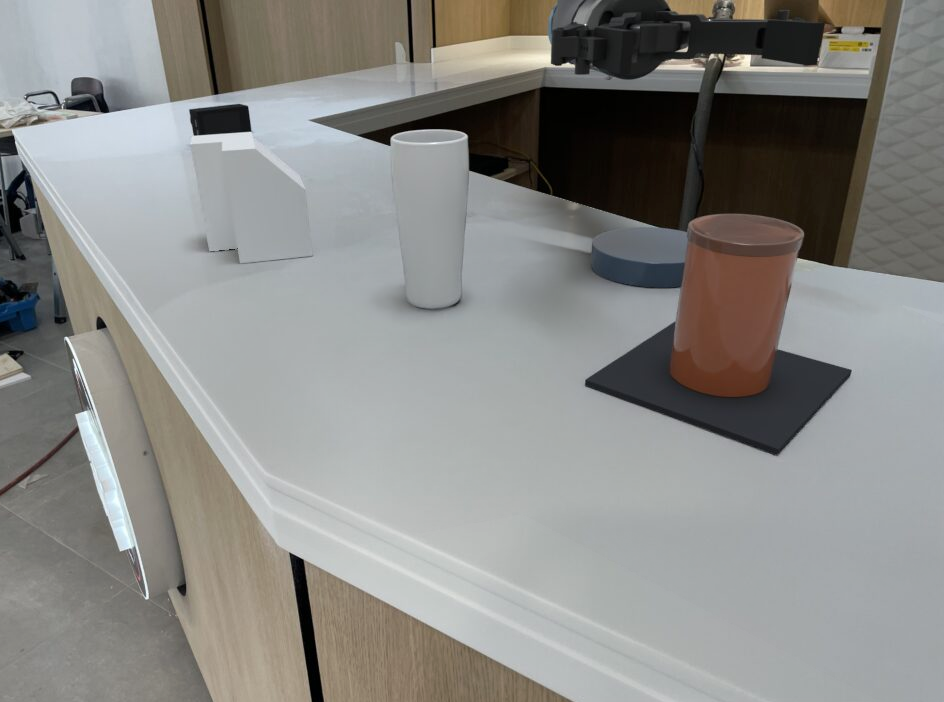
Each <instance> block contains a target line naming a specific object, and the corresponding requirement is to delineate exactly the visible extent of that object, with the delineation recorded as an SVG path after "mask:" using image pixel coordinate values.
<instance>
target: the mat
mask: <svg viewBox="0 0 944 702" xmlns="http://www.w3.org/2000/svg"><path fill="white" fill-rule="evenodd" d="M675 323H676V320H675V321H673V322H672V323H670V324H669V325H667V326H666V327H664V328H663V329H661V330H659V331H658V332H657V333H655V334H653V335H652V336H650V337H649V338H648V339H646V340H644V341H642V342H641V343H639V344H637V345H636V346H635V347H633V348H632V349H630V350H629V351H627V352H626V353H624V354H622V355H620V356H619V357H617V358H616V359H614V360H613V361H612V362H610V363H609V364H607V365H606V366H604V367H602V368H600V370H598V371H597V372H594V373H593V374H591V375H590V376H589V377H587V378H586V379H585V380H584V385H585V387H589V388H592V389H594V390H597V391H600V392H602V393H605V394H608V395H611V396H612V397H613V396H614V397H616V398H619V399H622V400H624V401H627V402H630V403H632V404H635V405H638V406H641V407H643V408H647V409H649V410H652V411H655V412H657V413H660V414H663V415H665V416H668V417H670V418H674V419H676V420H679V421H681V422H684V423H688V424H690V425H693V426H696V427H698V428H701V429H704V430H707V431H709V432H711V433H715V434H717V435H720V436H723V437H726V438H729V439H731V440H733V441H736V442H739V443H742V444H744V445H747V446H750V447H753V448H755V449H758V450H761V451H763V452H767V453H769V454H771V455H774V456H778V455H779V454H780V453H781V452H782V451H783V450H784V449H785V448H786V446H787V445H788V444H790V442H791V441H792V440H793V439H794V438H795V437H796V436H797V434H798V433H799V432H800V431H801V430H802V429H803V428H804V427H805V426H806V425H807V423H808V422H809V421H810V420H811V419H812V418H813V417H814V416H815V415H816V414H817V413H818V411H820V409H821V408H822V407H823V406H824V405H825V404H826V403H827V402H828V401H829V400H830V399H831V397H832V396H833V395H834V394H835V393H836V392H837V391H838V389H840V388H841V387H842V385H843V384H844V383H845V382H846V381H847V380H848V379H849V378H850V377H851V374H852V369H850V368H848V367H847V368H846V367H844V366H839V365H835V364H832V363H829V362H825V361H822V360H818V359H814V358H810V357H807V356H803V355H800V354H797V353H793V352H789V351H785V350H782V349H778V348H777V353H776V357H775V362H774V366H773V371H772V375H771V380H770V384H769V386H768V387H767V388H766V389H765V390H764V391H762V392H760V393H758V394H755V395H751V396H746V397H719V396H713V395H708V394H703V393H700V392H697V391H694V390H691V389H689V388H687V387H685V386H683V385H681V384H680V383H678V382H677V381H676V380H675V379H674V378H673V377H672V376H671V374H670V371H669V364H670V357H671V350H672V343H673V336H674V330H675Z"/></svg>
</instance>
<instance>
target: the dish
mask: <svg viewBox="0 0 944 702" xmlns="http://www.w3.org/2000/svg"><path fill="white" fill-rule="evenodd" d="M687 240H688V238H687V231H683V230H679V229H672V228H665V227H656V226H655V227H654V226H653V227H652V226H634V227H633V226H631V227H622V228H621V227H620V228H615V229H610V230H607V231H604V232H601V233H599V234H598V235H596V236H594V238H593V239H592V242H591V252H590V253H591V255H590V267H591V269H592V270H593V272H594V273H595V274H597V275H598V276H600V277H602V278H604V279H606V280H609V281H612V282H615V281H616V282H615V283H618V282H619V284H622V283H624V284H623V285H627V284H629V285H628V286H633V285H635V286H634V287H640V286H641V287H640V288H651V287H653V288H654V289H656V288H657V289H667V288H668V289H669V288H681V281H682V274H683V268H684V261H685V254H686V247H687Z"/></svg>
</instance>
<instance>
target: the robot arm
mask: <svg viewBox="0 0 944 702" xmlns="http://www.w3.org/2000/svg"><path fill="white" fill-rule="evenodd" d="M789 14H790V10H789V9H782V10H777V12H776V19H769V18H768V19H761V18H760V19H759V18H758V19H757V18H716V16H709V17H707V16H706V15H705V14H703V13H694V14H693V13H689V14H688V13H685V14H682V13H681V14H679V13H678V12H677V11H675V10H672V9H671V7H670V5H669V4H668V3H667V1H666V0H557V1H556V3H555V4H554V6H553V8H552V9H551V12H550V14H549V17H548V21H547V36H548V41H549V44H550V46H551V47H550V65H552V66H554V67H561V66H562V65H566V64H567V63H568V64H569V65H573V66H574V75H577V76H579V75H581V76H584V75H586V76H587V75H590V73H591V72H590V71H591V70H592V71H595V72H599V73H603V79H604V80H606V81H610V80H613V78H616V79H619V80H626V81H631V80H632V81H633V80H638V79H641V78H643V77H645V76H648V75H650V74H651V73H652V72H654V71H655V70H656V69H657V68H658V67H660V66H661V64H662V63H664V62H668V61H672V60H687V61H688V60H689V61H690V60H694V59H696V60H697V59H699V58H700V57H701V56H702V55H704V54H706V55H707V54H709V55H734V56H735V55H737V56H738V55H739V56H740V55H741V56H761V59H764V60H768V61H769V60H771V61H776V62H777V61H778V62H781V63H787V64H788V63H789V64H794V65H802V66H818V61H819V56H820V52H821V46H822V41H823V37H824V31H825V26H826V22H824V21H823V22H820V21H806V20H805V19H803V18H800V17H793V19H789ZM683 49H684V50H685V49H687V50H686V51H683ZM681 50H682V51H681Z"/></svg>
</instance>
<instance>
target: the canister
mask: <svg viewBox="0 0 944 702" xmlns="http://www.w3.org/2000/svg"><path fill="white" fill-rule="evenodd" d="M686 232H687V238H688V240H687V247H686V254H685V261H684V268H683V274H682V281H681V287H679V288H680V289H679V295H678V303H677V310H676V317H675V321H676V323H675V330H674V336H673V343H672V350H671V357H670V364H669V371H670V374H671V376H672V377H673V378H674V379H675V380H676V381H677V382H678V383H680V384H681V385H683V386H685V387H687V388H689V389H691V390H694V391H697V392H700V393H703V394H708V395H713V396H719V397H746V396H751V395H755V394H758V393H760V392H762V391H764V390H765V389H766V388H767V387H768V386H769V384H770V380H771V375H772V371H773V366H774V362H775V357H776V353H777V349H778V347H779V343H780V338H781V334H782V330H783V325H784V321H785V316H786V311H787V307H788V303H789V299H790V293H791V289H792V286H793V285H792V284H793V279H794V276H795V271H796V266H797V262H798V258H799V253H800V249H802V247H803V243H804V239H805V232H804V230H803V229H802V228H800V227H799V226H797V225H795V224H794V223H791V222H788V221H785V220H782V219H779V218H774V217H769V216H763V215H757V214H746V213H717V214H708V215H704V216H703V215H702V216H699V217H696V218H694V219H692V220H690V222H689V223H688V224H687V230H686Z"/></svg>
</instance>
